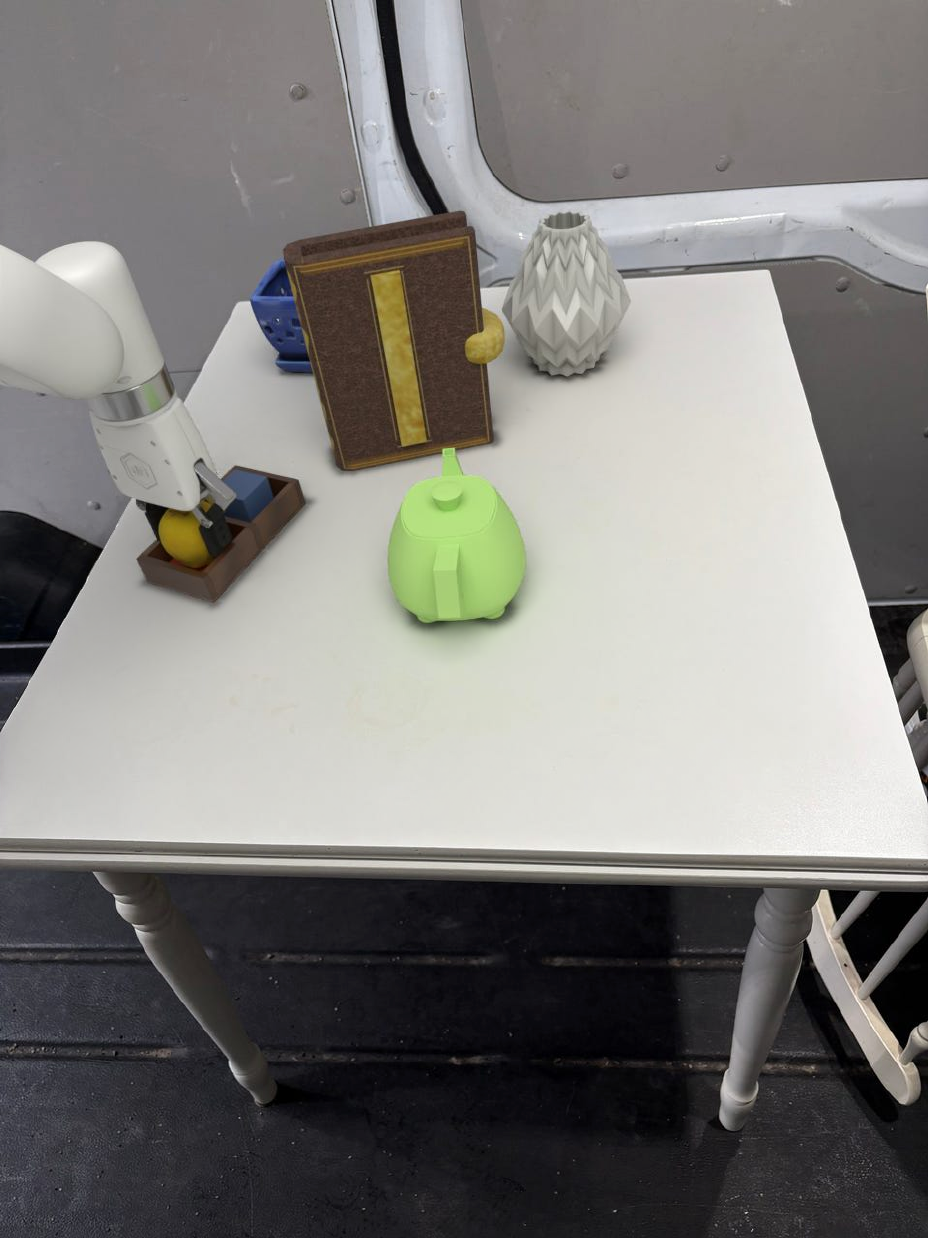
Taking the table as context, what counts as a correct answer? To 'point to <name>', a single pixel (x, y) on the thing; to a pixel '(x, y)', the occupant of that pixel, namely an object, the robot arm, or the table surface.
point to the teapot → (455, 548)
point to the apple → (184, 537)
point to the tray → (237, 554)
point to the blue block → (248, 495)
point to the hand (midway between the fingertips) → (195, 539)
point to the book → (397, 338)
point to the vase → (566, 295)
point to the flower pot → (280, 319)
